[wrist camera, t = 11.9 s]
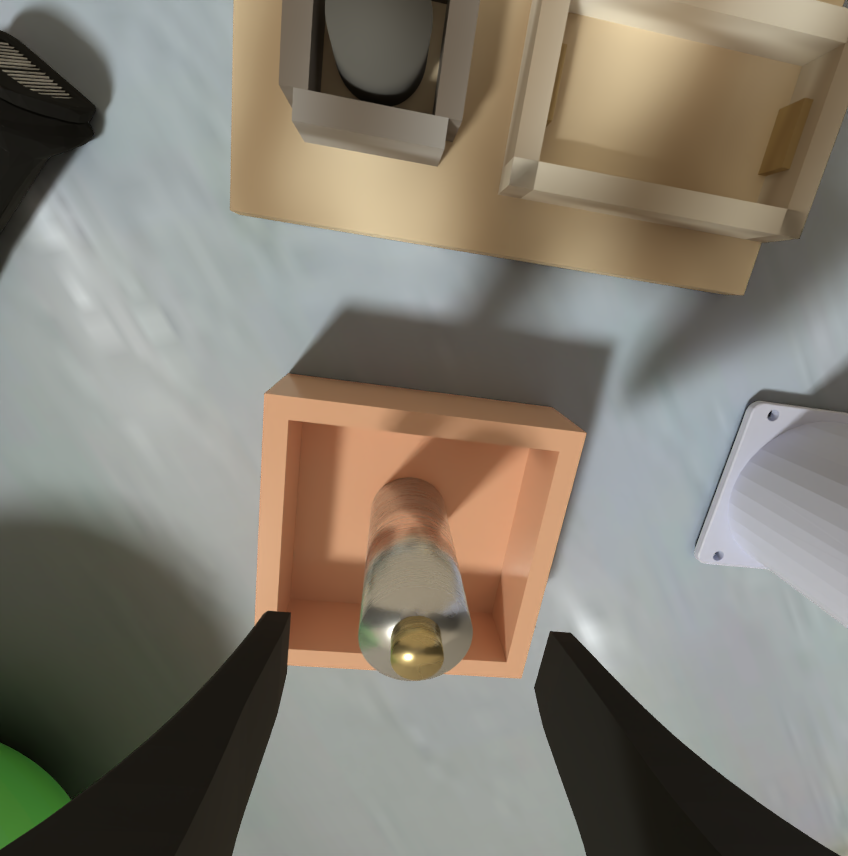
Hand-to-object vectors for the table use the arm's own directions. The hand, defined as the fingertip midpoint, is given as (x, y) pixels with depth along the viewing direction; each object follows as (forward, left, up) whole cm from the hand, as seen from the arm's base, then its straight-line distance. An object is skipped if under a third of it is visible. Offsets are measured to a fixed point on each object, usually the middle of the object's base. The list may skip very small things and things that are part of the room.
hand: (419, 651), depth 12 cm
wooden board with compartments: (-2, -16, -8) cm, 18 cm away
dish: (0, 0, -8) cm, 8 cm away
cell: (0, 0, -8) cm, 8 cm away
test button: (+3, -16, -7) cm, 18 cm away
